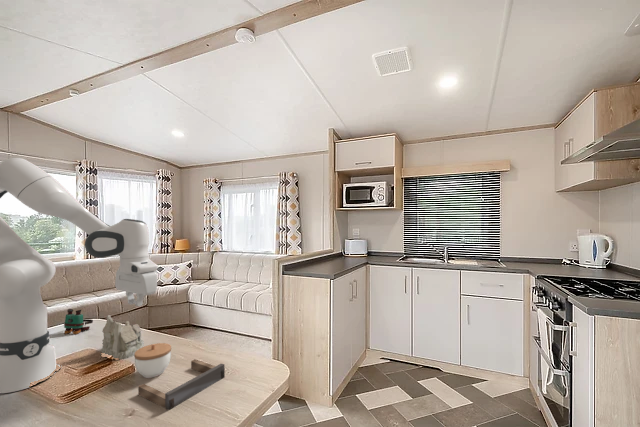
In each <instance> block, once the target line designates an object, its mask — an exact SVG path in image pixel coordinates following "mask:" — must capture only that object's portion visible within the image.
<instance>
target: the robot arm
mask: <svg viewBox="0 0 640 427" xmlns="http://www.w3.org/2000/svg"><path fill="white" fill-rule="evenodd" d="M7 193H9V194H10V195H11V196H13V197H14V198H16V199H17V200H18V201H20V202H21V203H22V204H23V205H24V206H26V207H28V208H30V209H31V210H33V211H35V212H37V213H38V214H43V215H46V216H51V217H55V218H59V219H62V220H65V221H68V222H69V223H71V224H73V225H75V226H76V227H78V229H80V230H82V231H83V232H84V233H86V234H87V237H86V238H85V240H84V248H85V250H86V252H87V253H88V254H89V255H90V256H91V257H95V258H99V259H104V258H109V257H114V256H119V266H118V269H117V270H116V272H115V289H116V290H118V291H123V292H125V296H126V299H127V304H128V305H132V306H133V305H135V306H136V307H142V306H143V304H144V298H145V297H146V296H150V295H154V294H156V292H157V291H158V274H157V272H156V271H158V264H156V263H155V262H154V261H152V259H150V252H149V245H150V234H149V226H148V224H147V223H146V222H145V221H143V220H140V219H133V218H132V219H131V218H123V219H121V220H120V221H119V222H117V223H115V224H112V225H109V224H107V223H105V222H104V221H103V220H102V219H100V217H98V216H96V215H95V214H94V213H93V212H91V211H90V210H88V209H87V208H86V207H85V206H83V205H82V204H81V202H79V201H78V199H76V198H75V197H74V195H72V194H71V193H70V192H69V191H68V190H67V189H66V188H65V187H64V186H63V185H62V184H61V183H60V182H59V181H57V180H56V179H55V178H54V176H51V175H50V174H49V173H48V172H47V171H45V170H43V169H42V168H40V167H39V166H37V165H36V164H34V163H32V162H31V161H29V160H27V159H26V158H22V157H11V158H7V159H4V160H2V161H1V162H0V199H2V197H3V196H5V195H6V194H7ZM56 270H57V269H56V265H55V263H54V262H53V261H52V260H51V259H49V258H47V257H45V256H44V255H43V254H41V253H40V252H39V251H37V250H36V249H35V248H34V247H32V246H31V245H30V244H29V243H27V242H26V241H24V240H23V238H21V237H20V236H19V235H18V234H17V233H16V232H15V231H14V229H13V228H12V227H11V226H10V225H9V224H8V223H7V222H6V221H5V219H4V218H3V217H2V216H1V215H0V394H7V393H14V392H18V391H22V390H25V389H29V388H30V387H29V386H30V383H31V382H34V381H38V380H40V379H43V378H45V377H47V376H49V375H50V374H51V373H52V372H53V371H54V370H55V369H56V365H58V366H59V367H60V365H61V364H57V359H56V348H55V346H53V344H50V331H49V330H48V308H47V306H46V305H45V304H44V301H43V299H42V298H43V297H42V295H41V288H43V287H44V286H45V285H47V284H49V283H50V281H51V280H52V279H53V278H54V276H55V274H56ZM134 294H135V295H136V298H135V295H134Z"/></svg>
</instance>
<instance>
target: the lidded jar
mask: <svg viewBox="0 0 640 427" xmlns="http://www.w3.org/2000/svg"><path fill="white" fill-rule="evenodd" d="M133 357H134V363H135V364H134V365H135V369H136V371H137V373H138V374H140V375H141V376H142V377H143V378H145V379H150V378H151V379H152V378H156V377H158V376H160V375H162V374H164V372H165V370H166V369H167V368H168V367H169V364H170V363H171V362H170V361H171V358H172V345H171V344H170V343H165V342H158V343H153V344H151V343H150V344H149V345H145V346H142V348H140V349H138V350H137V351H136V352H135V354H134V356H133Z"/></svg>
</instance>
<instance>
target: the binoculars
mask: <svg viewBox="0 0 640 427" xmlns="http://www.w3.org/2000/svg"><path fill="white" fill-rule="evenodd" d="M73 312H74V309H72V308H68V309H67V314H65V317H64V324H63V327H64V329H65V330H64V332H63V333H64V334H65V335H66V334H71V333H72V335H79V334H80V333H81V331H86V330H90V328H91V327H90V325H89V324H93V322H94V320H93V319H86V318H85V319H84V314H83V313H82V309H77V310H75V313H73ZM86 325H89V326H86Z"/></svg>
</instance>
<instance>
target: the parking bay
mask: <svg viewBox="0 0 640 427" xmlns="http://www.w3.org/2000/svg"><path fill="white" fill-rule="evenodd" d="M190 367H191V370H194V371H197V372H200V373H201V374H199V375H197V376H195V377H193V378H191V379H190V380H189V379H188V381H186V382H184V383H182V384H180V385H178V386H177V387H175V388H173V389H171V390H169V391H166V392H162V391H160V390H159V389H156V388H154V387H151V386H149V385H148V384H145V383H142V384H140V385H138V386H137V388H138V392H137V393H138V396H140V397H142V398H144V399H146V400H148V401H150V402H151V403H153V404H156V405H158V406H159V407H162V408H163V409H166V410H168V411H171V409H173V408H175V407H177V406H179V405H180V404H182V403H183V402H185V401H187V400H188V399H190V398H192V397H193V396H195V395H197V394H199V393H201V392H202V391H204V390H205V389H208V388H209V387H211V386H212V385H213V384H215V383H217V382H218V381H220V380H222V379H224V378H225V377H226V376H225V368H226V367H225V364H224V363H219V364H218V365H213V364H210V363H207V362H204V361H201V360H199V359H195V358H194V359H193V360H191V361H190Z"/></svg>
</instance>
